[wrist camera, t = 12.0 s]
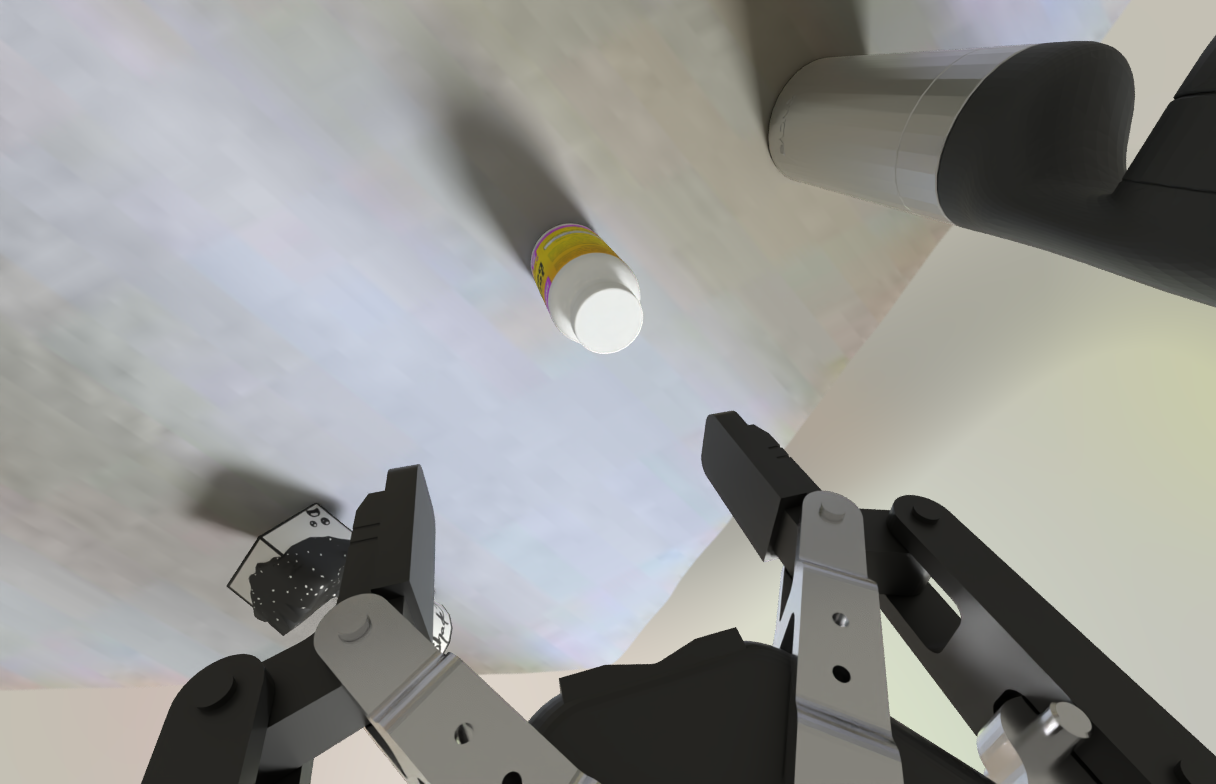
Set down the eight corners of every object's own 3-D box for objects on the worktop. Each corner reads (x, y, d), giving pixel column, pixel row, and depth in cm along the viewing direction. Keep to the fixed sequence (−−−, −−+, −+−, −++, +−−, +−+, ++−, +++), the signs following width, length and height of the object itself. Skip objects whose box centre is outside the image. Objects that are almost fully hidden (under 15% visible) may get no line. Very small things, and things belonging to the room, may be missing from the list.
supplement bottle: (517, 237, 39) (543, 293, 29) (593, 209, 40) (645, 254, 29) (544, 309, 43) (576, 381, 33) (613, 283, 44) (666, 345, 33)
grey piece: (472, 588, 60) (476, 667, 52) (405, 627, 60) (399, 711, 52) (310, 470, 45) (281, 555, 37) (223, 523, 45) (175, 618, 37)
